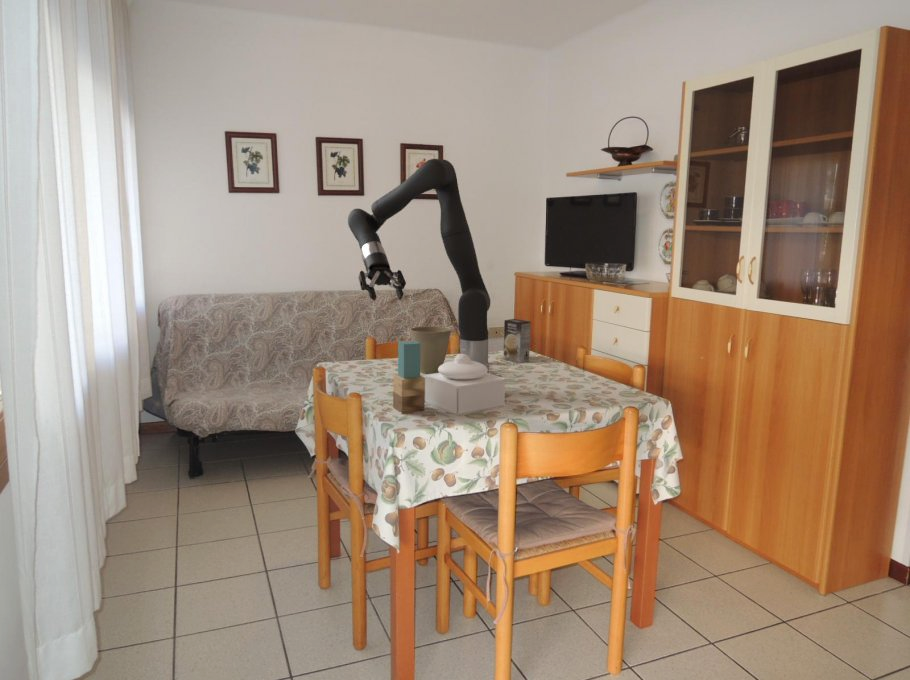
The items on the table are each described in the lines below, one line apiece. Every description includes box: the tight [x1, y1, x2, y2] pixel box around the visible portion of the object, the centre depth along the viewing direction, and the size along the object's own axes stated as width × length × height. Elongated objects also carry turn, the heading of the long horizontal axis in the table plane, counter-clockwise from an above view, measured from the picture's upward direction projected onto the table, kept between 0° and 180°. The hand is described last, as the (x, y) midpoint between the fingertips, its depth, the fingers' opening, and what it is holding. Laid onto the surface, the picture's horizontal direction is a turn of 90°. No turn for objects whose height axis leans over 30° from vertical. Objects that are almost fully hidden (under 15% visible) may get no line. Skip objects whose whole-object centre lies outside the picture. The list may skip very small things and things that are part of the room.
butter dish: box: [423, 353, 507, 417], centre depth 201 cm, size 18×18×16 cm
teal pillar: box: [397, 340, 421, 379], centre depth 194 cm, size 5×5×10 cm
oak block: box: [392, 373, 425, 397], centre depth 195 cm, size 7×7×5 cm
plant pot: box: [409, 325, 452, 375], centre depth 245 cm, size 15×15×16 cm
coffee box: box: [502, 318, 532, 364], centre depth 267 cm, size 9×6×16 cm
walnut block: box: [392, 390, 425, 415], centre depth 196 cm, size 7×7×5 cm
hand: (387, 298), depth 207 cm, fingers open, 8 cm apart
